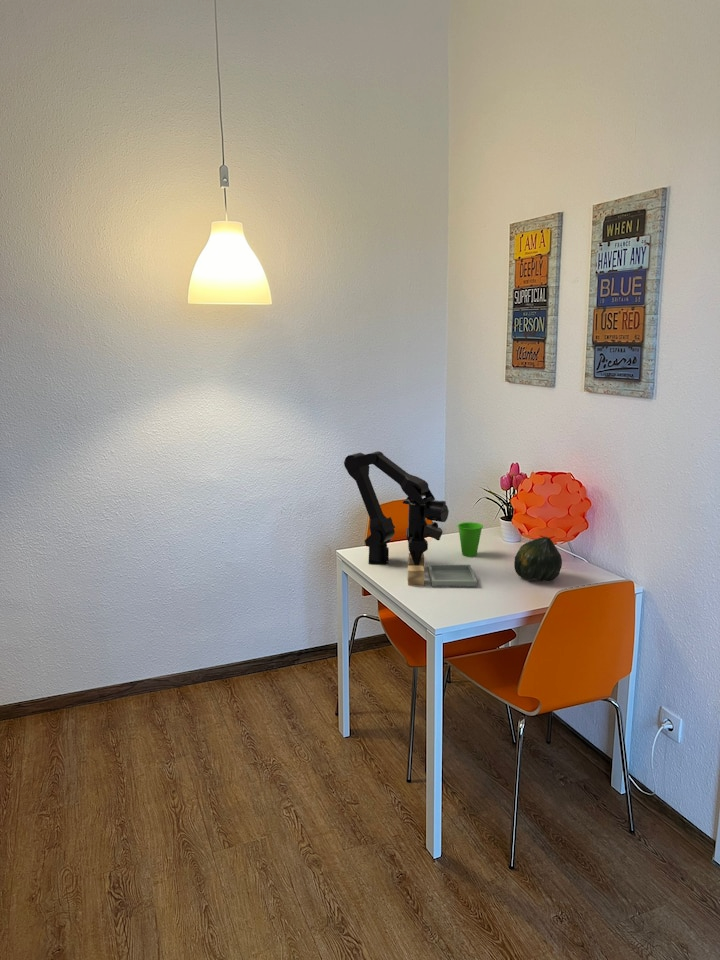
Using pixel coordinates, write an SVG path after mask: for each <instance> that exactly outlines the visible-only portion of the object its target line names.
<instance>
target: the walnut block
mask: <svg viewBox="0 0 720 960" xmlns="http://www.w3.org/2000/svg"><path fill="white" fill-rule="evenodd" d="M408 566H415V564H414V562H413V559H412V557H411V554H410V552H408ZM419 566H423V567H424V568H425V552H423V553H422V556H421V560H420V564H419Z"/></svg>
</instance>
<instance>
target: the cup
mask: <svg viewBox="0 0 720 960" xmlns="http://www.w3.org/2000/svg"><path fill="white" fill-rule="evenodd" d="M457 528H458V533H459V541H460V549H461V554H462V556H463V557H466V558H473V557H476V556H477V554H478V551H479V550H478V548H479V544H480V539H481V535H482V530H483V528H484V526H483V524H481V523H478V522H473V521H468V522H467V521H466V522H460V523H458V524H457Z"/></svg>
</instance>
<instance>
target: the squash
mask: <svg viewBox="0 0 720 960" xmlns="http://www.w3.org/2000/svg"><path fill="white" fill-rule="evenodd" d="M513 564H514V570H515V573H516V574H517V575H518V577H520V578H521V579H525V580H527V581H532V580H535V581H547V582H549V581H550V582H551V581H554V580H556V579H557V578H558V577H559V574H560V571H561V569H562V566H563V565H562V564H563V560H562V555H561V553H560V552H559V549H558V548H557V546H556V545H555V544H554V542H553V540H552V538H550V537H549V536H542V537H538V538H535V539H533V540H530V541H528V542H526V543H524V544H522V545H521V546H520V548H519V549H518V550H517V553H516V554H515V556H514V563H513Z"/></svg>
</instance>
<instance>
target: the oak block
mask: <svg viewBox="0 0 720 960" xmlns="http://www.w3.org/2000/svg"><path fill="white" fill-rule="evenodd" d="M406 580H407V586H416V587H417V586H419V587H421V586H425V566H424V567H423V566H409V565H407V579H406Z"/></svg>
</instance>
